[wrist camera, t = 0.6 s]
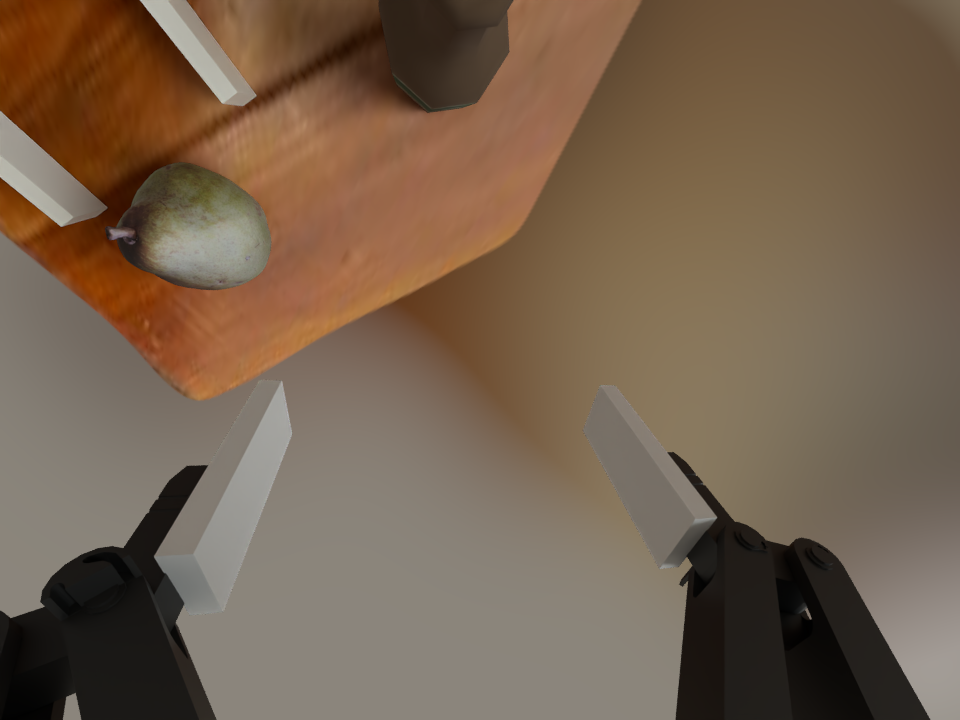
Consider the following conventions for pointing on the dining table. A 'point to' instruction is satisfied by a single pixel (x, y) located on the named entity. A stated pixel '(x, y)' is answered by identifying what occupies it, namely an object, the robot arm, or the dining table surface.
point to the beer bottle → (445, 48)
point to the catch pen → (55, 188)
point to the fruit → (194, 229)
